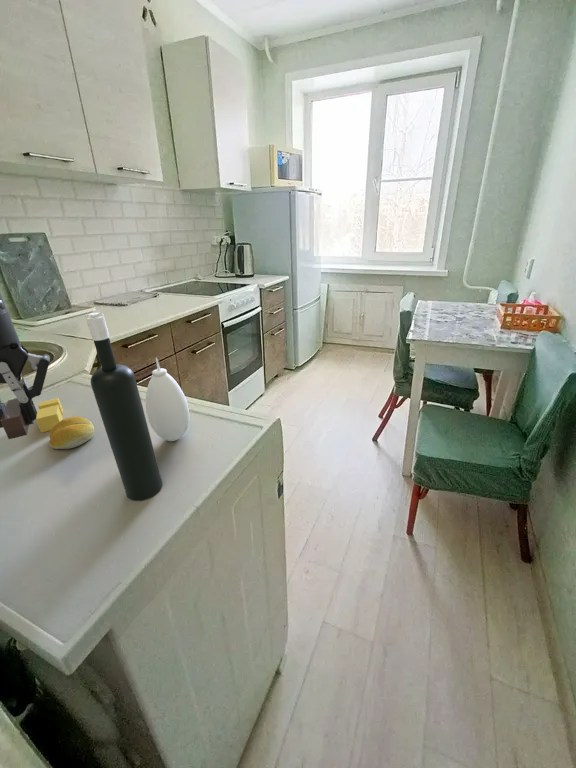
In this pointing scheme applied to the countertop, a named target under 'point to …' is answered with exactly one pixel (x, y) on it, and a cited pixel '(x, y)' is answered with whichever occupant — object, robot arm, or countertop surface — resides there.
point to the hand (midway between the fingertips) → (20, 424)
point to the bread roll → (71, 433)
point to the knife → (14, 419)
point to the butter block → (48, 418)
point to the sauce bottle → (166, 406)
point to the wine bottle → (123, 417)
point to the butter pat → (51, 404)
